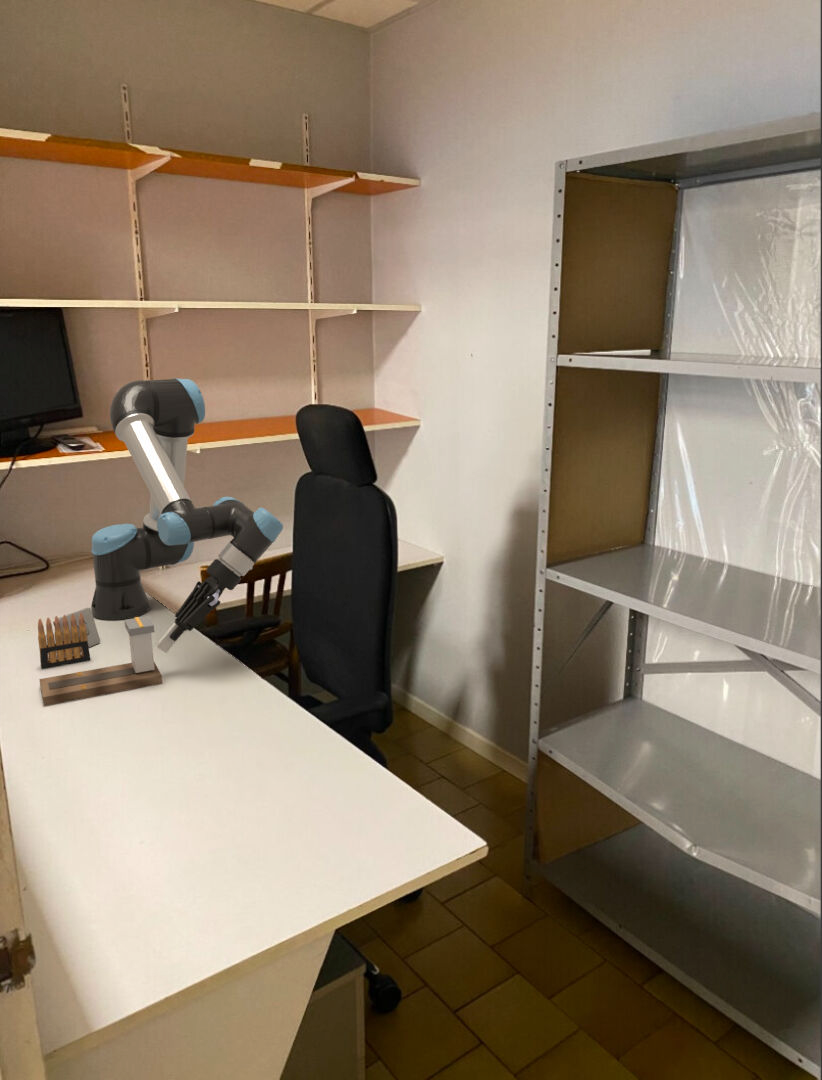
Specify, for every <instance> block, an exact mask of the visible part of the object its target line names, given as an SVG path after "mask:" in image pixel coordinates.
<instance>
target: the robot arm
mask: <svg viewBox="0 0 822 1080" xmlns="http://www.w3.org/2000/svg"><path fill="white" fill-rule="evenodd" d="M200 389H201V388H200V387H199V386H198V385H197V383H196V382H195V381H193V380H191V379H189V378H177V377H176V378H175V377H174V378H169V379H148V380H147V379H146V380H142V379H141V380H140V379H139V380H134V381H131V382H128V383H126V384H124V385H123V386H122V387H120V388H119V389H118V391H117V392H116V394H114V397H113V398H112V400H111V403H110V408H109V421H110V424H111V425H110V426H111V428H112V431H113V432H114V434H115V436H116V438H117V439H118V440H119V441H121V442H123V443H124V444H125V446H126V448H127V450H128V452H129V454H130V456H131V458H132V460H133V461H134V464H135V466H136V467H137V470H138V472H139V474H140V475H141V477H142V479H143V481H144V483H145V486H146V487H147V490H148V491H149V493H150V501H149V513H147V514H146V515H144V518H143V522H142V526H141V527H136V525H134V524H131V523H122V524H113V525H109V526H106V527H103V528H101V529H99V530H97V531H96V532H95V533H93V535H92V537H91V551H90V552H91V554H92V561H93V571H94V579H95V580H94V583H95V589H94V592H93V597H92V601H91V606H90V609H91V612H92V615H93V618H96V619H99V620H105V621H117V620H118V621H119V620H128V619H133V618H135V617H139V616H142V615H144V614H145V613H147V612H148V611H149V610H150V607H151V606H150V605H151V604H150V599H149V597H148V594H147V593H146V590H145V588H144V585H143V583H142V581H141V571H144V570H150V569H154V568H159V567H165V566H169V565H170V566H173V565H177V564H180V563H184V562H185V561H187V560H188V559H190V557H191V556H192V554H193V552H194V547H195V542H200V541H205V540H212V539H216V538H222V537H223V538H224V537H228V536H231V537H232V539H231V540H230V541H229V542H228V543H227V544H226V545H225V547H223V549H222V550H221V551H220V552H219V554H218V555H217V556H218V558H216V559H214V560H213V561H212V562H211V563H210V565H209V566H207V568H206V572H207V573H208V575H209V576H208V577H207V578H206V579H205V580H203V581H202V582H201V581H197V582H196V584H195V585H194V587H193V589H192V591H191V592H190V594H189V595H188V597H187V598H186V599H185V601H184V602H183V603H182V605H181V606H180V608H179V609H178V610H177V612H176V613H175V616H174V617H175V619H174V622H173V624H172V625H170V627H169V628H167V630H166V632H164V634H163V635H162V636H161V637H160V639H158V641H157V642H156V643H155V647H157V648H158V649H159V650H160V651H162V652H163V653H165V654H167V653H169V651H170V649H171V648H172V647H173V646H174V644H175V643H177V641H178V640H179V639H180V638H181V636H182V635H183V634H184V633H185V632H187V631H188V632H191V631H193V629H194V628H195V627H197V625H199V623H200V622H201V621H203V620H204V619H205V618H206V617H207V616H208V615H209V614H210V613H211V612H212V611H213V610H214V609H215V608H217V607H219V606H220V605H221V601H220V600H219V598H220V597H221V596H222V594H223V593H224V591H225V589H227V590H229V591H233V590H234V589H235V588H236V587H237V586H238V584H239V583H240V582H241V579H242V578H241V576H242V577H244V576H245V575H246V574H247V573H249V571H251V570H253V567H254V565H255V564H256V563H258V562H257V561H258V560H259V559H260V558H261V557H262V556H263V555H264V553H265V552H266V551H267V550H268V549H269V548H270V547H271V545H273V543H275V542H276V539H277V538H278V537H279V535H280V534H281V532H282V531H283V529H284V524H283V522H281V521H280V520H279V519H278V518H277V517H276V516H274V514H272V513H271V512H269V511H268V510H267V509H266V508H264V507H259V508H258V509H257V510H255V511H253V510H251V509H250V508H249V507H248V506H246V505H245V503H244V502H242V501H239V500H237V498H236V499H235V498H234V497H231V496H223V497H220V498H219V499H218V500H216V501H215V502H214V503H213V505H209V506H204V507H195V504H194V503H193V501H192V500H191V498H190V496H189V494H188V492H187V490H186V487H185V480H186V467H187V452H188V439H189V438H190V437H193V435H194V434H195V428H196V427H195V426H196V425H199V424H201V423H202V422H204V419H205V417H206V405H205V400H204V396H203V394H202V392H201V390H200Z"/></svg>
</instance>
